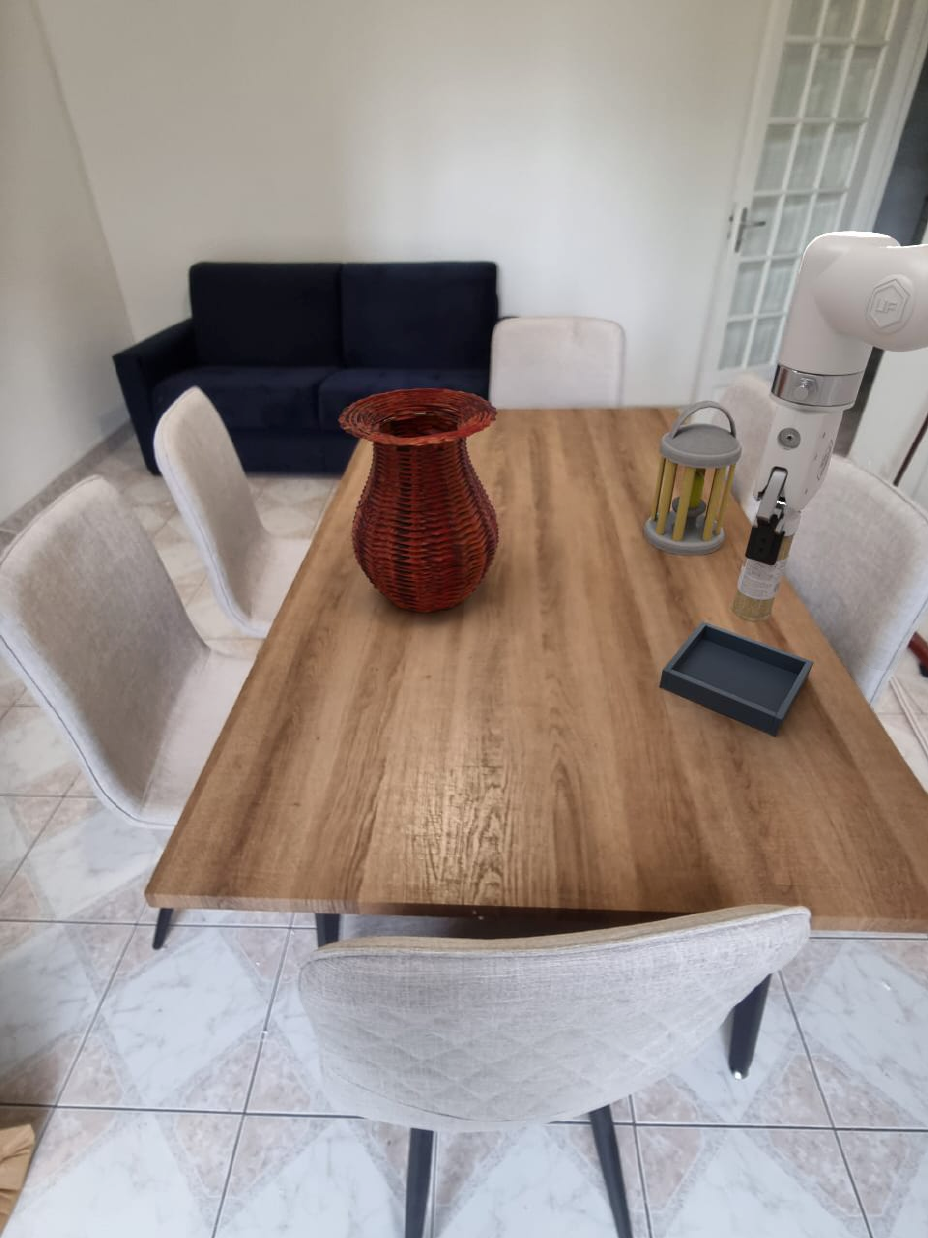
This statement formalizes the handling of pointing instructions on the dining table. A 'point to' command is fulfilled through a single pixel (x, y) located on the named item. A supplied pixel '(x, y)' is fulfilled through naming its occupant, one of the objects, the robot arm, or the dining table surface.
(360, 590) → the dining table surface
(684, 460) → the lantern
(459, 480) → the vase
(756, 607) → the sprinkles bottle
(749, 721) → the tray
